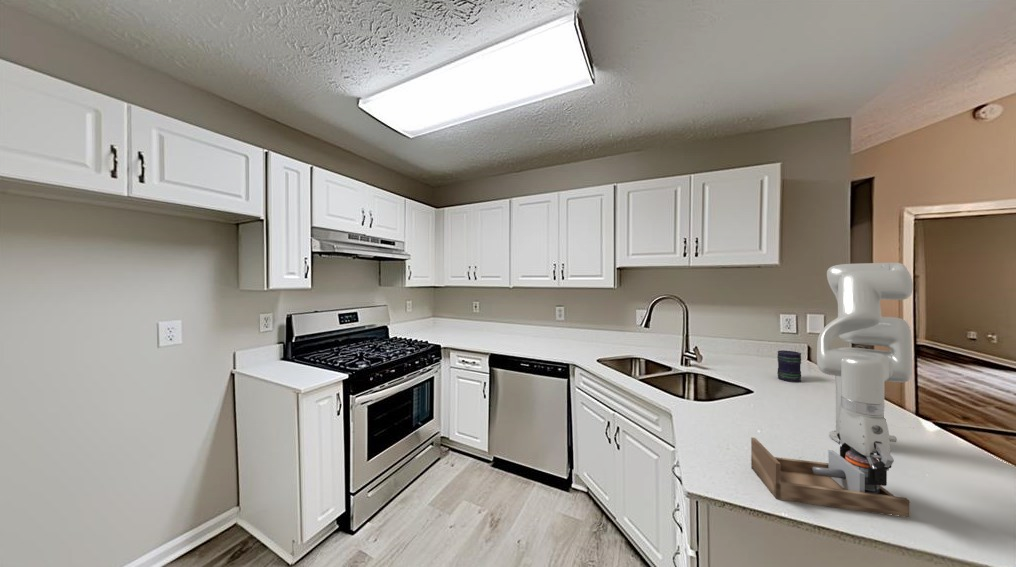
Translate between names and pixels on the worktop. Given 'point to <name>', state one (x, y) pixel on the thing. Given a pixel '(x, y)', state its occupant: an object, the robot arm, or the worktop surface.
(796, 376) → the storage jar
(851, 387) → the robot arm
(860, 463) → the supplement bottle
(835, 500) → the pusher lane
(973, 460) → the worktop surface
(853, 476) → the pusher plate
